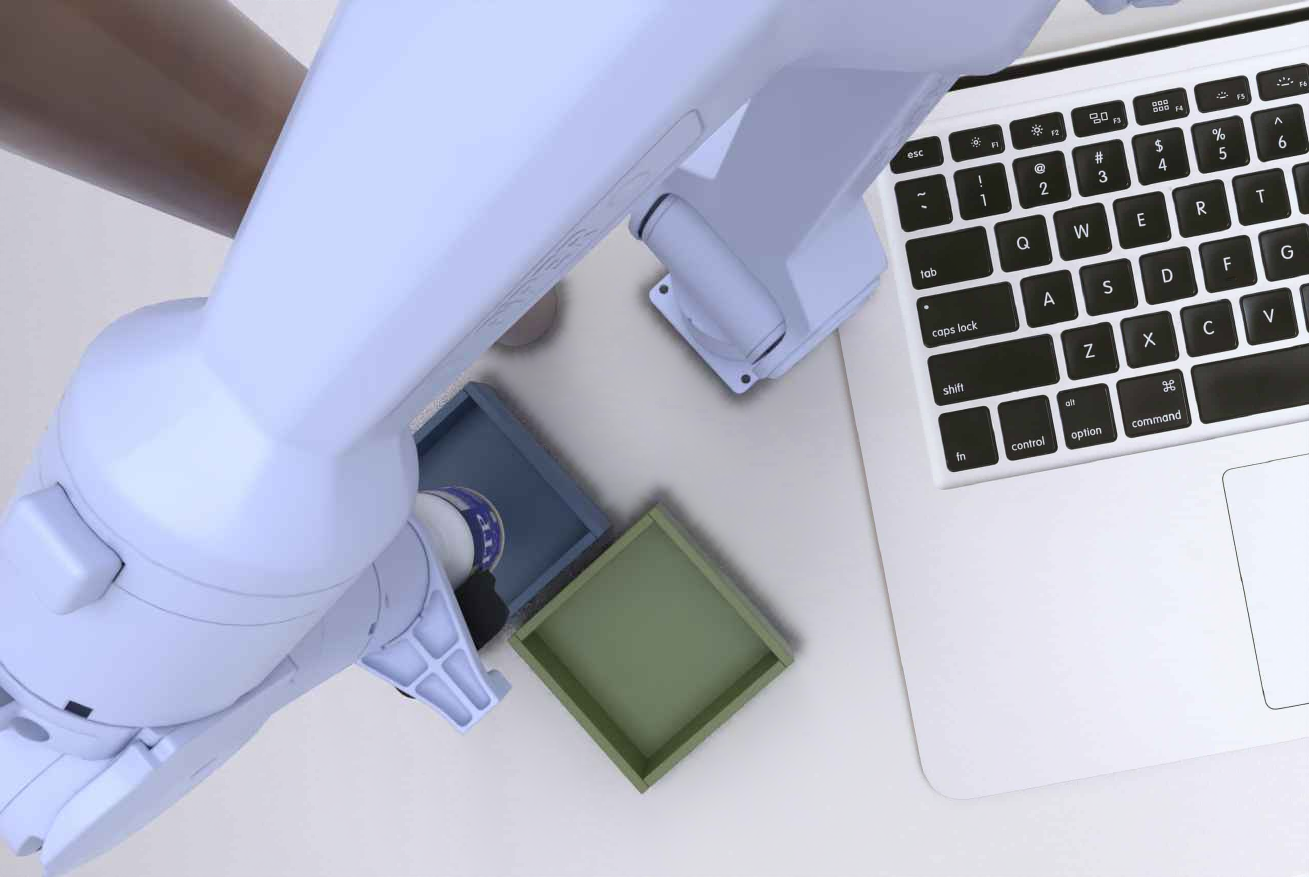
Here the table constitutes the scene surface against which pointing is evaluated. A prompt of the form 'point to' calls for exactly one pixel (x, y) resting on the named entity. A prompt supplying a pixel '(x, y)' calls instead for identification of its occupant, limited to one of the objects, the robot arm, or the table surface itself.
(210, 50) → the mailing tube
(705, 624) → the tray
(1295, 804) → the table surface
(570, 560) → the tray
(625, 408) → the table surface
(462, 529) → the pill bottle
